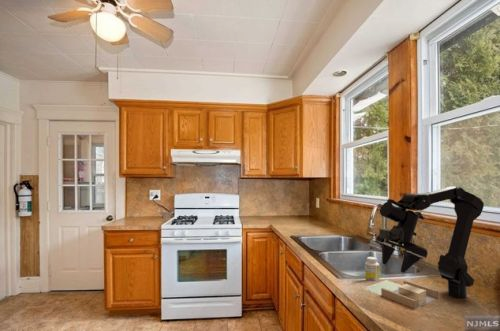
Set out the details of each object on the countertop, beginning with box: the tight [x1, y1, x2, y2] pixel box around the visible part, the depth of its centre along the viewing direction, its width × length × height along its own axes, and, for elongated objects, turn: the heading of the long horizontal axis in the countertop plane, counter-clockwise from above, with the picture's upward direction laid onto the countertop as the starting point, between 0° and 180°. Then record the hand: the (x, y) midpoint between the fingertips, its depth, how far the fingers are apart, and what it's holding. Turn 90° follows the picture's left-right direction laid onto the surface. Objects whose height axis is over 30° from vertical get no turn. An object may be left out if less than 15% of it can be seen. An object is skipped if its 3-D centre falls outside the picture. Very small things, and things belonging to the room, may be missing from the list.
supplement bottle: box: [364, 256, 380, 282], centre depth 118 cm, size 6×6×10 cm
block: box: [398, 283, 426, 305], centre depth 96 cm, size 7×5×4 cm
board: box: [363, 279, 439, 310], centre depth 102 cm, size 20×16×4 cm
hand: (392, 268), depth 95 cm, fingers open, 9 cm apart
